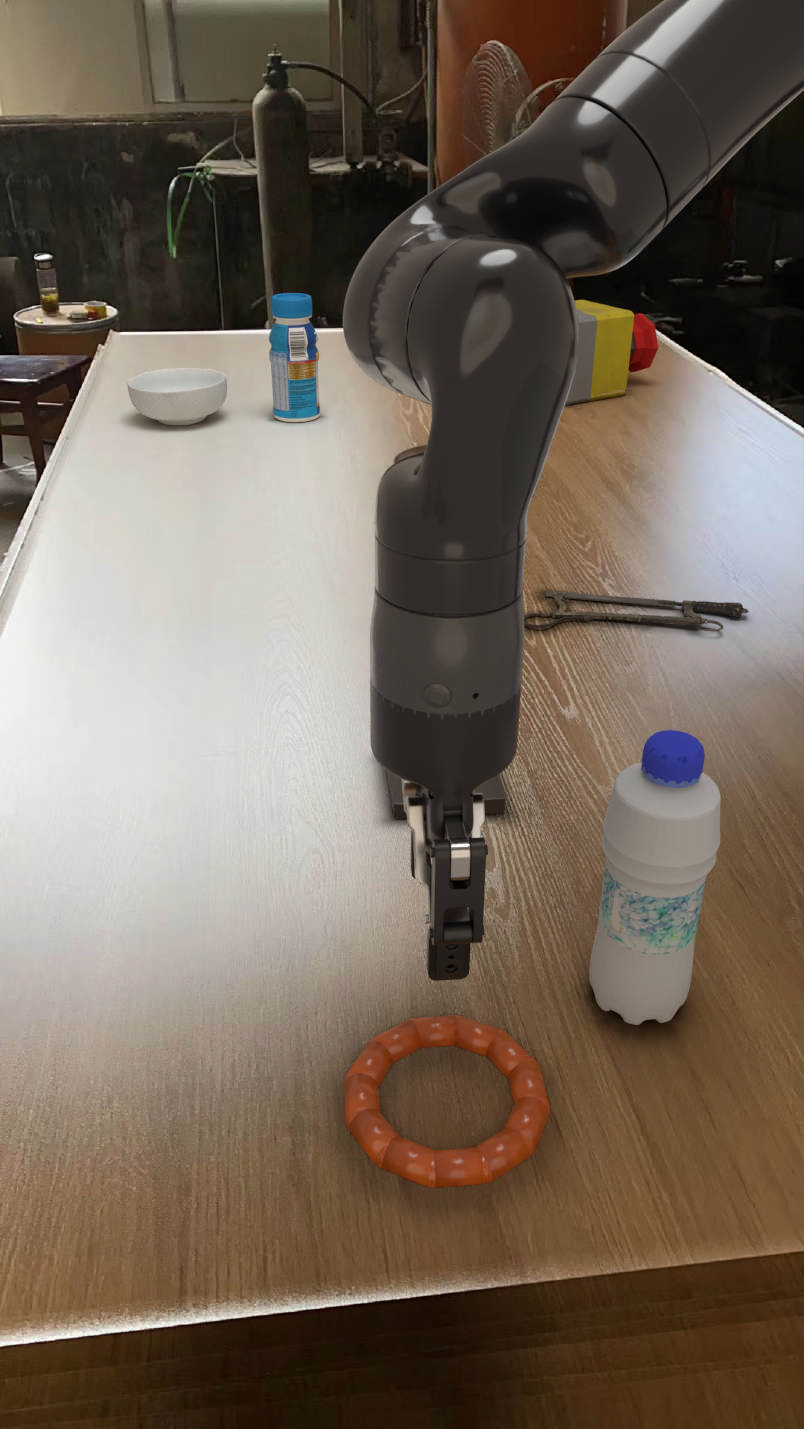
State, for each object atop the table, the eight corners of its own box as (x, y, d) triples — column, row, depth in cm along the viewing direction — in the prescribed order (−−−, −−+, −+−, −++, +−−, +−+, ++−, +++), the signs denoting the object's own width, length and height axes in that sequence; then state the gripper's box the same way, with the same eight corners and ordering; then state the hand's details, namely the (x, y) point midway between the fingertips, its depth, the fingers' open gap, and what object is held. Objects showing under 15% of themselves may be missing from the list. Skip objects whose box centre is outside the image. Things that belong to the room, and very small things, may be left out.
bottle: (643, 952, 74) (681, 697, 64) (711, 1017, 69) (764, 751, 59) (562, 986, 71) (589, 724, 61) (626, 1056, 66) (667, 783, 56)
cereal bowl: (162, 403, 198) (158, 363, 194) (245, 411, 193) (243, 370, 190) (113, 428, 184) (107, 385, 180) (201, 437, 179) (197, 393, 176)
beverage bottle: (263, 420, 188) (256, 298, 178) (286, 408, 195) (281, 290, 185) (307, 425, 185) (302, 302, 175) (329, 413, 192) (325, 293, 182)
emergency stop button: (664, 389, 208) (675, 306, 200) (565, 406, 197) (572, 319, 189) (612, 373, 219) (620, 294, 211) (515, 388, 208) (520, 306, 200)
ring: (525, 1026, 68) (526, 1003, 67) (566, 1188, 58) (569, 1164, 57) (340, 1039, 67) (339, 1015, 66) (350, 1206, 57) (349, 1181, 56)
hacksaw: (747, 613, 121) (749, 600, 120) (748, 654, 112) (751, 641, 112) (531, 590, 126) (532, 578, 125) (517, 628, 118) (518, 615, 117)
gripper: (551, 743, 48) (526, 1010, 56) (496, 607, 60) (483, 843, 68) (381, 750, 47) (381, 1019, 55) (361, 612, 59) (363, 849, 68)
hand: (437, 922), depth 62 cm, fingers open, 8 cm apart
